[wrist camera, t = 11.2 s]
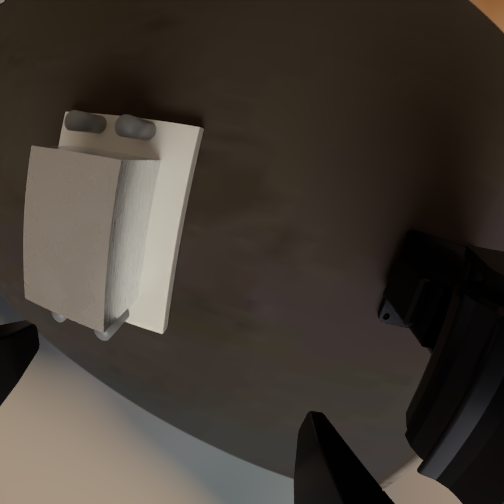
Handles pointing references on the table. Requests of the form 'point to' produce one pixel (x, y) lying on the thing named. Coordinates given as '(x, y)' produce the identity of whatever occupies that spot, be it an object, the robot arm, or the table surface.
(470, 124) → the table surface
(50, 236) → the block
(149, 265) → the pin tray
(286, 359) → the table surface
